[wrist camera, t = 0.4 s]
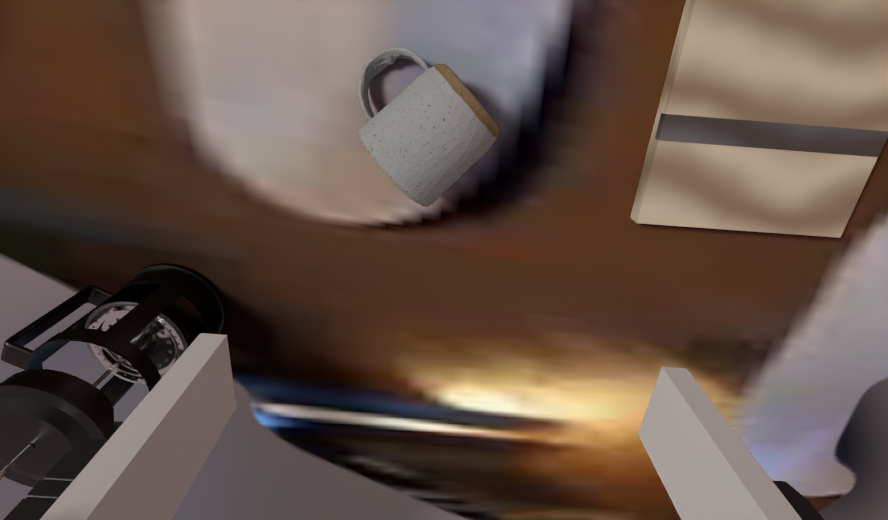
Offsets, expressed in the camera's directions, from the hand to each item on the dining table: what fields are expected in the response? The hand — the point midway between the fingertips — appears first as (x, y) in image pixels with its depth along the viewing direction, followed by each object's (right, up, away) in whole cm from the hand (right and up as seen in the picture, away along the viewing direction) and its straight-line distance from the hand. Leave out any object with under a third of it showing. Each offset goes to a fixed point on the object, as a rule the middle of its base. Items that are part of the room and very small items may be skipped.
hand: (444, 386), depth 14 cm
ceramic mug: (-2, +16, +23) cm, 28 cm away
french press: (-26, 0, +30) cm, 40 cm away
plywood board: (+26, +16, +22) cm, 38 cm away
